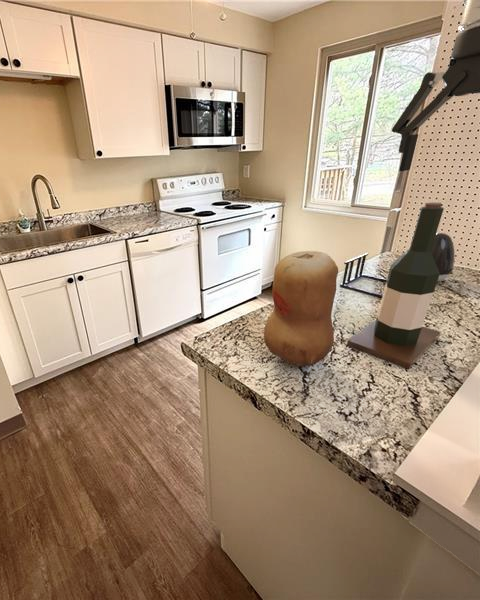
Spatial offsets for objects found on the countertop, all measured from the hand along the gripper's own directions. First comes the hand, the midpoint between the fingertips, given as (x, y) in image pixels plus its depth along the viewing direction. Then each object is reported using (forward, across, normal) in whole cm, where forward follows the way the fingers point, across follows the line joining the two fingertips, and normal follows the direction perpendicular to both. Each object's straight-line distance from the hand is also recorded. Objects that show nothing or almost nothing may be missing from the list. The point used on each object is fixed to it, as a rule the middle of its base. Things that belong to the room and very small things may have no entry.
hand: (447, 170), depth 58 cm
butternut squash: (+37, -10, -25) cm, 46 cm away
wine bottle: (+36, 0, -2) cm, 36 cm away
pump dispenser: (+38, -10, +43) cm, 58 cm away
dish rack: (+37, -18, +26) cm, 49 cm away
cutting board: (+37, 0, -2) cm, 37 cm away
